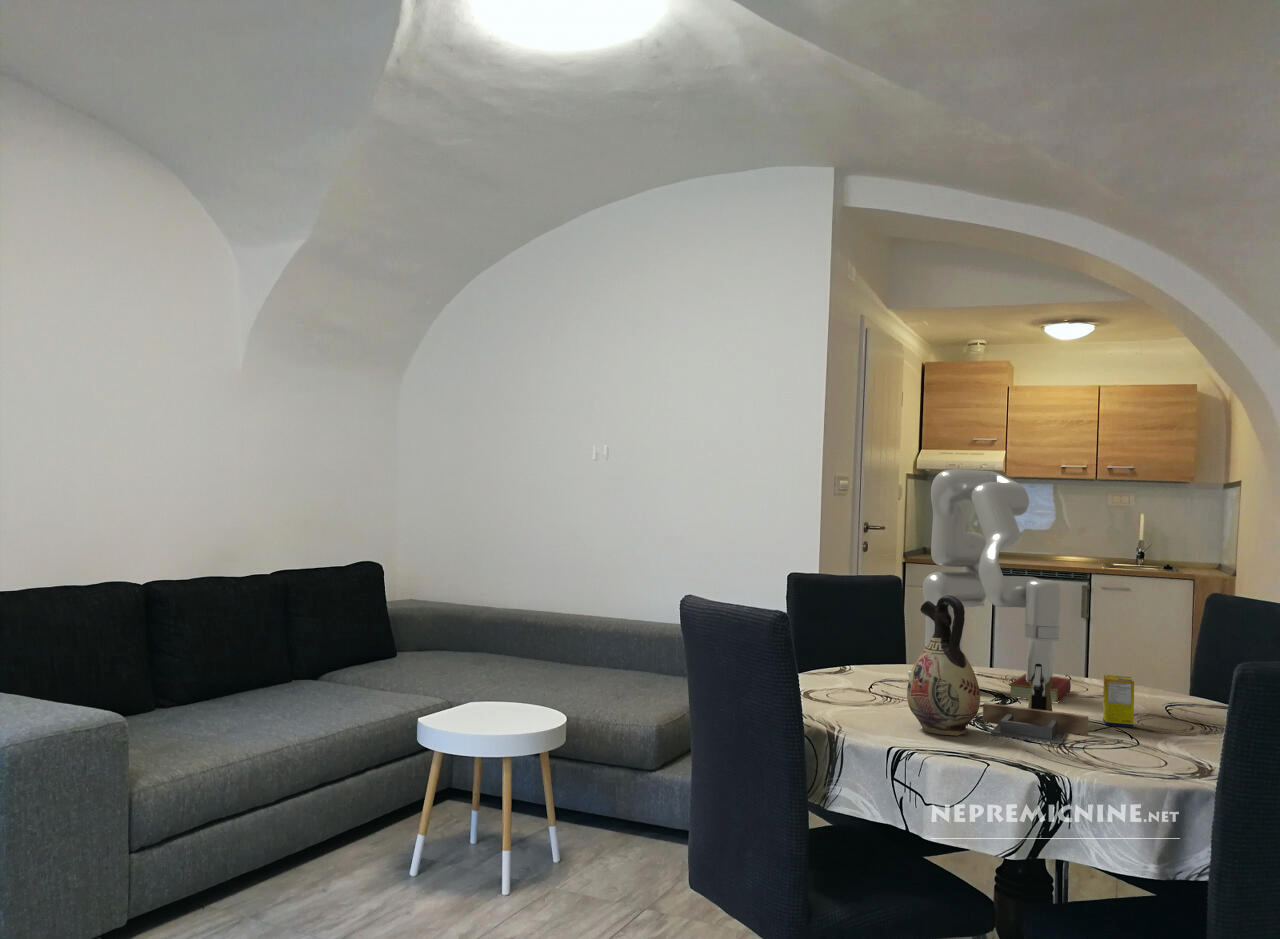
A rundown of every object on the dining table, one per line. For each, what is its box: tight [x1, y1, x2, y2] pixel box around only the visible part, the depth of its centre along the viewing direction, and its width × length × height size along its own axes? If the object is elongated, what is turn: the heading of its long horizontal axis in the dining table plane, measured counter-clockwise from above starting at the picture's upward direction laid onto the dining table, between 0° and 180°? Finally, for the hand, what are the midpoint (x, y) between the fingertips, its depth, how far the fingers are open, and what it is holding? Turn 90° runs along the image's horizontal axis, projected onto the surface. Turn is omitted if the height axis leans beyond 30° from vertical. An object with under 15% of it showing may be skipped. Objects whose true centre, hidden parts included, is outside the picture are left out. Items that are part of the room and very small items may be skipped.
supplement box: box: [1102, 674, 1135, 729], centre depth 230 cm, size 6×6×11 cm
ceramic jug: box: [906, 595, 981, 737], centre depth 216 cm, size 17×15×30 cm
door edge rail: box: [982, 702, 1089, 736], centre depth 223 cm, size 22×2×4 cm, turn 61°
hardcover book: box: [1008, 673, 1072, 703], centre depth 265 cm, size 12×21×4 cm, turn 148°
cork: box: [1027, 676, 1053, 711], centre depth 231 cm, size 6×6×11 cm
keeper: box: [990, 713, 1068, 745], centre depth 216 cm, size 14×12×3 cm
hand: (1040, 710), depth 231 cm, fingers closed on cork, 4 cm apart
